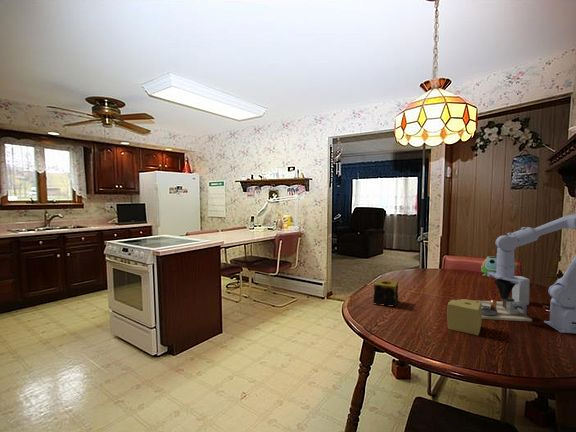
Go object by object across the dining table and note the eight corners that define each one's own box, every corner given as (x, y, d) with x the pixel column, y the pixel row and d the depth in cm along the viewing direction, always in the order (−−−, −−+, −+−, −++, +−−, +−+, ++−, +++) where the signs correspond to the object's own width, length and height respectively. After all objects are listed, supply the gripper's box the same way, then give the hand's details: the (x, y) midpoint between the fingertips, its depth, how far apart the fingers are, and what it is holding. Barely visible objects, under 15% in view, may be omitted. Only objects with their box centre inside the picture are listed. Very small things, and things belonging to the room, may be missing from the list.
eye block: (526, 315, 118) (526, 304, 118) (510, 314, 120) (510, 303, 119) (522, 312, 121) (522, 301, 121) (506, 312, 123) (506, 301, 122)
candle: (373, 304, 137) (372, 284, 137) (377, 298, 146) (377, 278, 146) (395, 308, 133) (395, 286, 132) (398, 301, 141) (398, 281, 141)
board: (531, 321, 115) (531, 319, 115) (476, 318, 119) (476, 316, 119) (504, 303, 135) (504, 301, 135) (457, 301, 139) (457, 299, 139)
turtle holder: (515, 280, 171) (516, 261, 170) (479, 276, 183) (479, 257, 182) (517, 276, 180) (517, 257, 179) (482, 272, 192) (482, 254, 191)
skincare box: (529, 305, 133) (530, 279, 132) (518, 304, 133) (519, 279, 133) (521, 300, 139) (522, 276, 138) (511, 300, 139) (512, 275, 139)
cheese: (451, 320, 118) (452, 296, 118) (483, 327, 111) (483, 301, 111) (446, 329, 110) (446, 303, 110) (480, 337, 103) (480, 309, 103)
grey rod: (526, 317, 116) (526, 306, 116) (517, 317, 117) (518, 306, 116) (510, 307, 128) (510, 297, 127) (502, 306, 128) (502, 296, 128)
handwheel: (501, 316, 118) (501, 304, 117) (477, 315, 119) (477, 303, 119) (490, 308, 126) (490, 297, 126) (468, 307, 128) (468, 296, 128)
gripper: (481, 262, 122) (481, 293, 123) (514, 270, 108) (513, 305, 109) (495, 261, 124) (494, 292, 125) (529, 268, 110) (528, 303, 110)
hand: (504, 298), depth 117 cm, fingers closed
